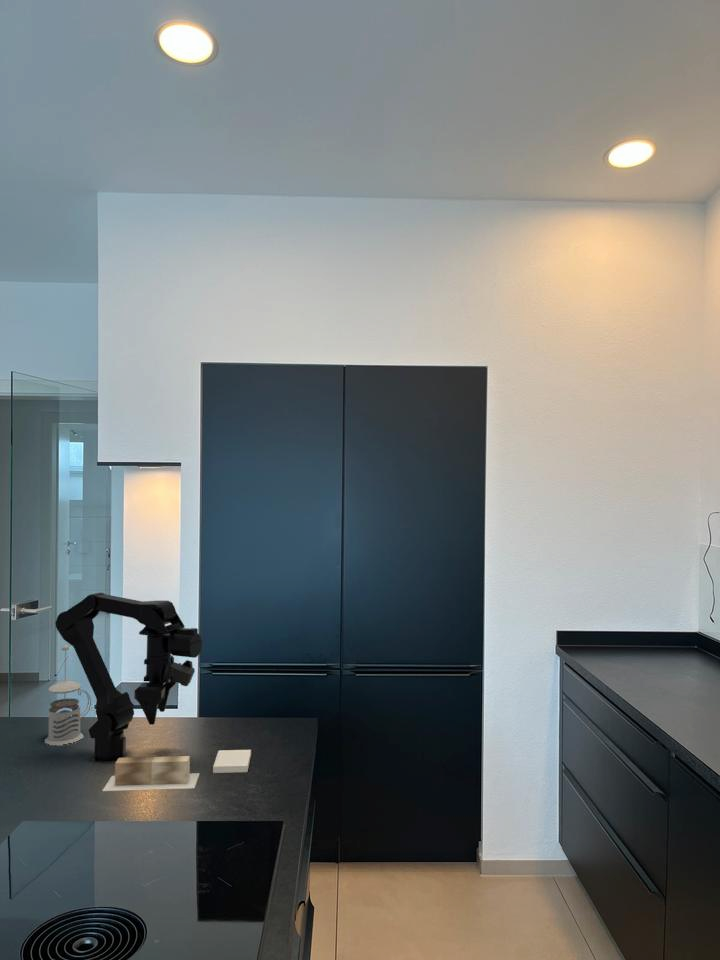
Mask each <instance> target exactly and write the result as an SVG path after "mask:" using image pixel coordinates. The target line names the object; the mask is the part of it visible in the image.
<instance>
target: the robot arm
mask: <svg viewBox="0 0 720 960" xmlns="http://www.w3.org/2000/svg"><path fill="white" fill-rule="evenodd" d="M100 612H101V613H108V614H111V615H117V616H121V617H127V618H131V619H135V620H136V622H138V623H139V624H141V625H144V627H143V628H142V629H141V630H140V631H139V632H138V634H139V635H140V636H146V658H145V659H143V665H146V667H145V675H144V676H143V682H142V683H141V684H139V685H138V687H137V688H136V689H135V690H134V694H133V695H134V699H135V700H136V702H138V704H139V705H140V707H141V709H142V711H143V714H144V716H145V718H146V720H147V722H148V724H149V725H150V726H151V725H155V723H156V719H157V718H156V717H157V713H158V710H159V712H163V713H164V712H165V710H166V707H167V703H168V698H169V695H170V693H171V688H173V687H174V686H175V685H176V684H177V683H178V684H180V685H181V686H183V687H188V686H189V684H190V683H191V681H192V679H193V676H194V674H195V672H196V671H195V670H196V669H195V668H194V667H193V661H191V660H189V659H186V660H185V661H184V662H183V663H181V662H179V663H178V662H176V661H175V657H184V658H198V656H199V655H200V653H201V651H202V647H203V640H202V637H201V635H200V634H199V632H198V631H199V629H198V628H197V627H196V628H195V627H190V628H186V627H185V625H184V624H185V623H183V621H182V619H181V618H180V616H179V614H178V612H177V610H176V607H175V604H174V603H173V602H171V600H146V601H143V600H137V599H132V598H131V599H130V598H127V597H120V596H115V595H111V594H106V593H104V592H96V593H92V594H88V595H87V596H86V597H84V598H83V599H82V600H81V601H79V602H78V603H76V604H75V605H73V606H72V607H70V608H69V609H67V610H65V611H62V612H60V613H59V614H58V615H57V617H56V620H55V623H54V624H55V628H56V630H57V631H58V634H59V635H60V636H61V639H63V640H64V641H65V642H67V643H68V644H69V645H70V646H72V648H73V649H74V651H75V654H76V656H77V658H78V661H79V662H80V664H81V667H82V669H83V672H84V673H85V676H86V678H87V680H88V683H89V685H90V687H91V689H92V692H93V694H94V696H95V700H96V704H95V705H96V706H95V715H96V717H97V721H95V722H94V724H92V725H91V726H90V728H89V729H88V733H89V737H90V738H91V739H94V758H93V759H92V763H93V762H96V763H97V762H116V761H117V760H118V758H124V756H125V755H126V753H127V750H126V749H127V744H126V743H127V738H126V736H124V735H125V734H124V733H125V731H124V730H127V729H128V728H129V726H130V725H129V724H130V723H131V722H132V720H133V718H134V715H135V711H134V707H135V705H134V703H133V702H132V700H131V698H130V694H129V693H128V691H125V692H123V693H121V692H120V691H119V690H118V689H117V688H116V686H115V684H114V682H113V680H112V677H111V675H110V673H109V671H108V668H107V666H106V664H105V661H104V659H103V658H102V654H101V652H100V651H99V648H98V646H97V644H96V642H95V641H96V640H95V639H94V632H95V631H94V629H95V624H94V619H95V618H96V617H97V616H98V615H99V614H100Z"/></svg>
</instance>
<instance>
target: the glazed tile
mask: <svg viewBox="0 0 720 960" xmlns="http://www.w3.org/2000/svg"><path fill="white" fill-rule="evenodd" d="M251 757H252V749H230V750H227V749H226V750H224V749H223V750H218V751H217V754H216V757H215V761H214V763H213V766H212V774H221V773H222V774H225V773H226V774H227V773H248V770H249V766H250V761H251Z"/></svg>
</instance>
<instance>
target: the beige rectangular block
mask: <svg viewBox="0 0 720 960" xmlns="http://www.w3.org/2000/svg"><path fill="white" fill-rule="evenodd" d="M190 758H191V756H190V755H183V756H181V755H179V756H177V755H176V756H175V755H174V756H139V757H137V756H136V757H121V758H118V760H117V761H115V763H114V764H115V765H114V776H115V785H149V784H183V783H188V781H189V778H190V773H191V770H190V769H191V768H190V767H191V765H190V764H191V759H190Z"/></svg>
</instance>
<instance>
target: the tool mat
mask: <svg viewBox="0 0 720 960" xmlns="http://www.w3.org/2000/svg"><path fill="white" fill-rule="evenodd" d="M199 777H200V772H198V773H197V772H195V773H193V772H192V773H191V772H190V778H189V781H188V783H183V784H149V785H115V775H112V776H111V777H110V778H109V780H108V781H107V783H106V784H105V786H104V787H103V788H102V791H101V792H116V791H117V792H118V791H119V792H120V791H125V792H126V791H151V790H181V789H182V790H183V789H184V790H185V789H190V790H191V789H195V787H196V785H197V782H198V779H199Z"/></svg>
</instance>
